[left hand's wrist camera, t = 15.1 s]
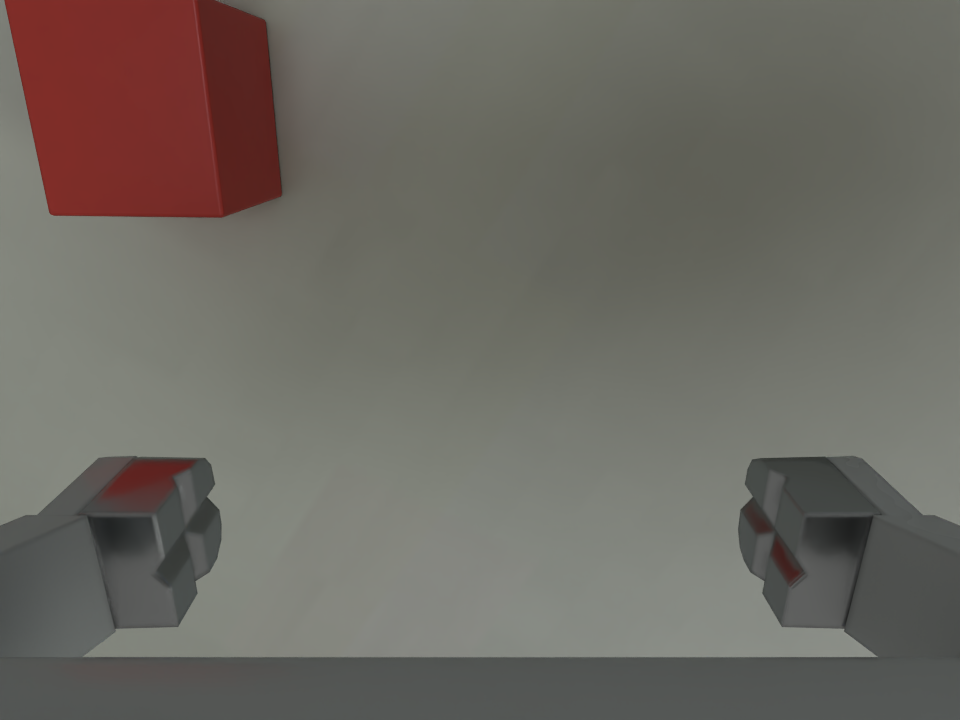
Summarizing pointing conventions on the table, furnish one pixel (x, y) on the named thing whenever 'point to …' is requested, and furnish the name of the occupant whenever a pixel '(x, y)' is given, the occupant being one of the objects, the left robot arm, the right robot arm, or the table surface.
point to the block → (148, 106)
